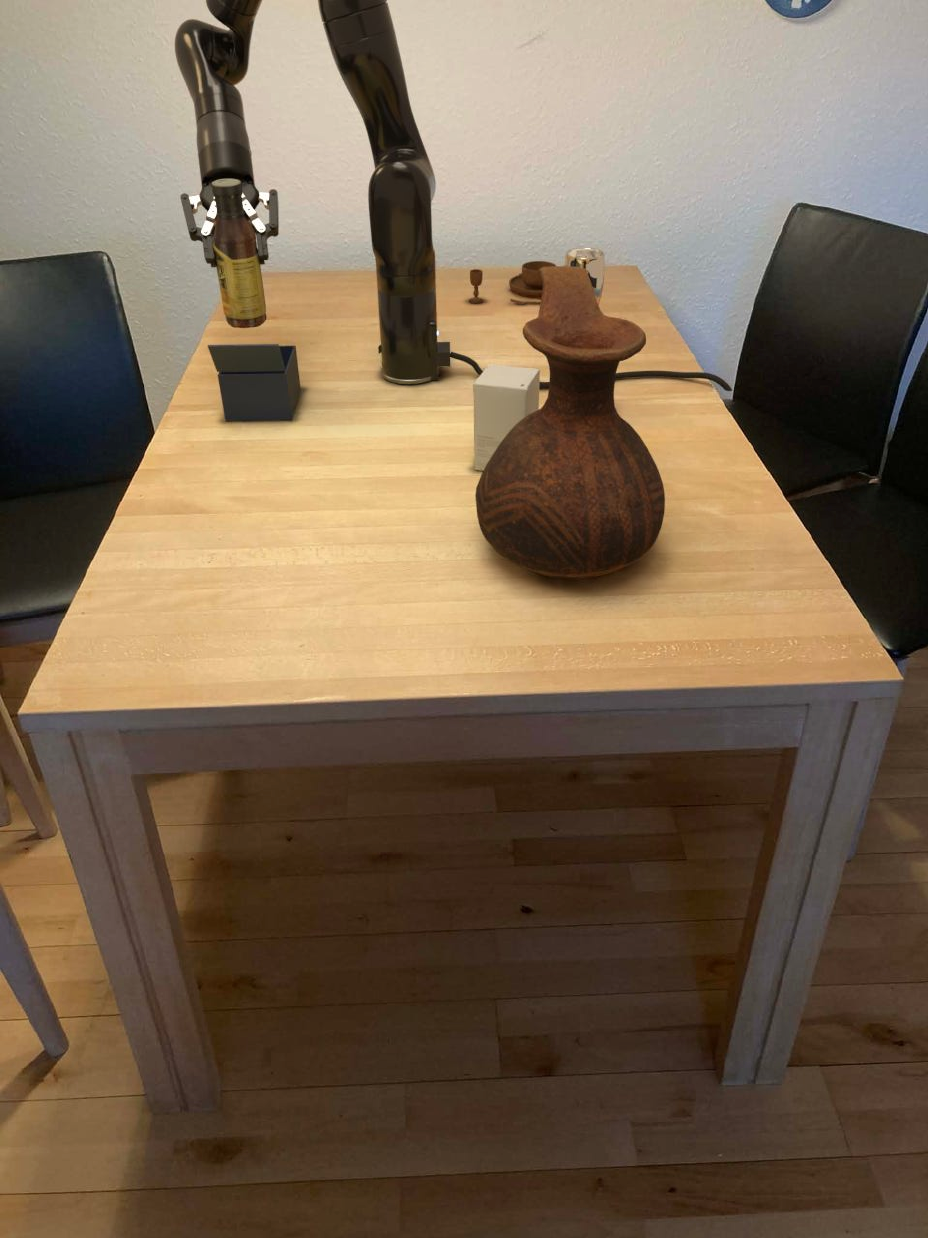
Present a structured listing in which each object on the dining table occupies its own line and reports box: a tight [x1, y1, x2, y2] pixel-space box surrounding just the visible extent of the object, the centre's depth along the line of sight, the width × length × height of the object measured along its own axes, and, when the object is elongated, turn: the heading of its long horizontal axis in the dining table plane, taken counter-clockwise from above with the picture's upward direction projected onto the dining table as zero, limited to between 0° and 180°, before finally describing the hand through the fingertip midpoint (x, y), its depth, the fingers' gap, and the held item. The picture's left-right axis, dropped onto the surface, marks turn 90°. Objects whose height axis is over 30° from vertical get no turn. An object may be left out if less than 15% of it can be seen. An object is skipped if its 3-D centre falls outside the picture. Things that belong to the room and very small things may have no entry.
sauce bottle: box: [212, 179, 267, 329], centre depth 134 cm, size 6×6×20 cm
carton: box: [217, 345, 302, 422], centre depth 143 cm, size 10×12×7 cm
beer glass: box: [564, 247, 605, 307], centre depth 163 cm, size 7×7×15 cm
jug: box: [475, 265, 666, 579], centre depth 102 cm, size 22×22×30 cm
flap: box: [207, 343, 285, 373], centre depth 133 cm, size 10×6×1 cm
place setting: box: [468, 260, 557, 305], centre depth 188 cm, size 18×20×6 cm
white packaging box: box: [472, 363, 541, 472], centre depth 126 cm, size 7×7×13 cm
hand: (237, 262), depth 133 cm, fingers closed on sauce bottle, 6 cm apart
